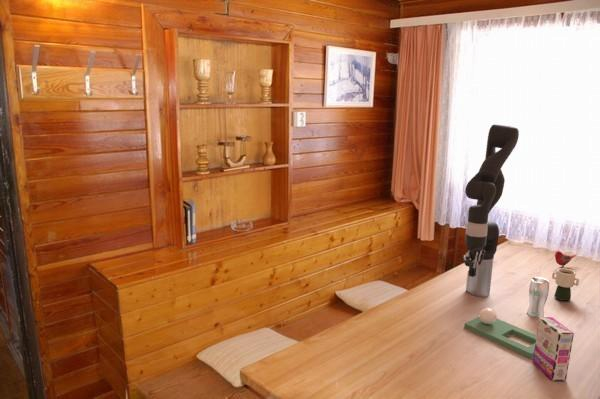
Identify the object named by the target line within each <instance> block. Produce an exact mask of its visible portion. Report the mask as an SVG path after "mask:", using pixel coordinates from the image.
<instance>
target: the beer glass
mask: <svg viewBox="0 0 600 399" xmlns="http://www.w3.org/2000/svg"><path fill="white" fill-rule="evenodd" d="M549 291H550V281H549V280H548V279H546V278H544V277H540V276H539V277H537V276H534V277H531V279H530V283H529V290H528V296H529V297H528V299H529V305H528V309H527V315H528V316H529V317H532V318H536V319H539V318H540V317H545V311H544V308H545V305H546V303H547V300H548V296H549V293H550V292H549Z"/></svg>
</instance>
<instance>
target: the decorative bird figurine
mask: <svg viewBox="0 0 600 399" xmlns="http://www.w3.org/2000/svg"><path fill="white" fill-rule="evenodd" d="M577 255H578V254H577V253H576V254H574V255H568V254H564V253H563V252H562V251H560V250H557V251H556V252H555V254H554V258H555V262H556V264H558V266H559V269H561V268H563V269H565V266H566V265H567V264H568V263H570V262H571V261H572V259H573V258H574V257H576V256H577Z"/></svg>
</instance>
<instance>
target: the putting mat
mask: <svg viewBox="0 0 600 399" xmlns="http://www.w3.org/2000/svg"><path fill="white" fill-rule="evenodd" d="M463 329H466V330H467V331H469V332H472V333H474V334H476V335H478V336H480V337H483V338H484V339H487V340H489V341H491V342H493V343H496V344H497V345H499V346H502V347H504V348H506V349H509V350H511V351H513V352H515V353H517V354H519V355H522V356H524V357H526V358H528V359H530V360H533V357H534V350H535V343H536V336H537V334H534V333H532V332H530V331H528V330H525V329H523V328H521V327H518V326H515V324H511V323H508V322H507V321H504V320H503V319H499V318H498V317H496V321H495V322H494V323H493V324H485V323H483V322H482V321H481V320H480V316H478V317H475V318H473V319H471V320H469V321H467V322H465V323H464V327H463ZM511 335H512V336H515V337H517V338H519V339H522V340H524V341H527V342H529V343H531V344H530V345H529V346H526V345H525V344H522V343H520V342H518V341H516V340H514V339H511V338H509V336H511Z"/></svg>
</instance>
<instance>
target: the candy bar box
mask: <svg viewBox="0 0 600 399" xmlns="http://www.w3.org/2000/svg"><path fill="white" fill-rule="evenodd" d="M536 329H537V330H536V335H537V336H536V343H535V350H534V357H533V358H532V363H533V364H534V365H535V366H536V367H537V368H538V369H539V370H540V371H541V372H542V373H544V375H546V377H548V378H549V379H550V380H551V381H552V382H562V381H563V382H564V381H565V382H566V381H567V376H568V370H569V364H570V358H571V354H572V347H573V341H574V340H573V339H574V334H575V333H574V332H573V331H571V330H570V329H569V328H568V327H566V326H564V324H562V323H560V322H559V321H558V320H556V319H555V318H554V317H553V316H552V317H551V316H550V317H547V316H546V317H545V316H544V317H540V318H538V324H537V328H536Z"/></svg>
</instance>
